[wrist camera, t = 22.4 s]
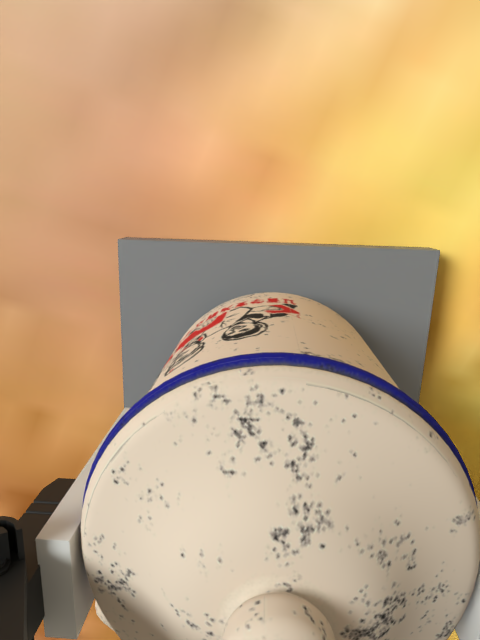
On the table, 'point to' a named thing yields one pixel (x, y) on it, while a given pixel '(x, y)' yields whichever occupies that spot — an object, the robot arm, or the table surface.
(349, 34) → the table surface
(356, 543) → the teacup with lid
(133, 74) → the table surface
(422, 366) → the board
